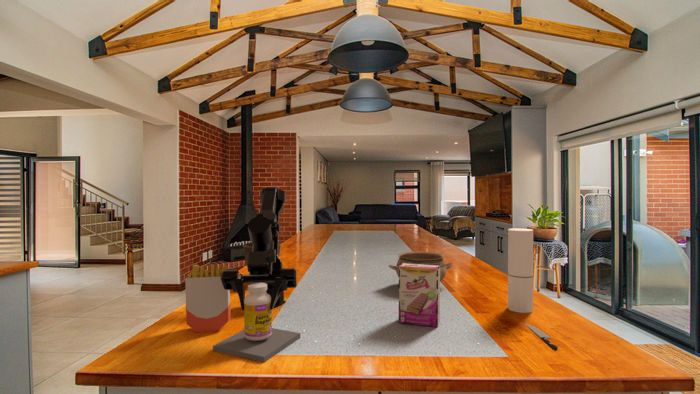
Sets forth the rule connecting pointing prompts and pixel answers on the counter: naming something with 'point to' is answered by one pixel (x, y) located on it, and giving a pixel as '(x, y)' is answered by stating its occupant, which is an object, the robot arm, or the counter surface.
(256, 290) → the supplement bottle
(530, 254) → the cylindrical container
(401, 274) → the candy bar box
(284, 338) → the charcoal mat
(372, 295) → the counter surface
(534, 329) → the chef's knife
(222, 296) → the french fries container
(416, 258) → the cooking pot
